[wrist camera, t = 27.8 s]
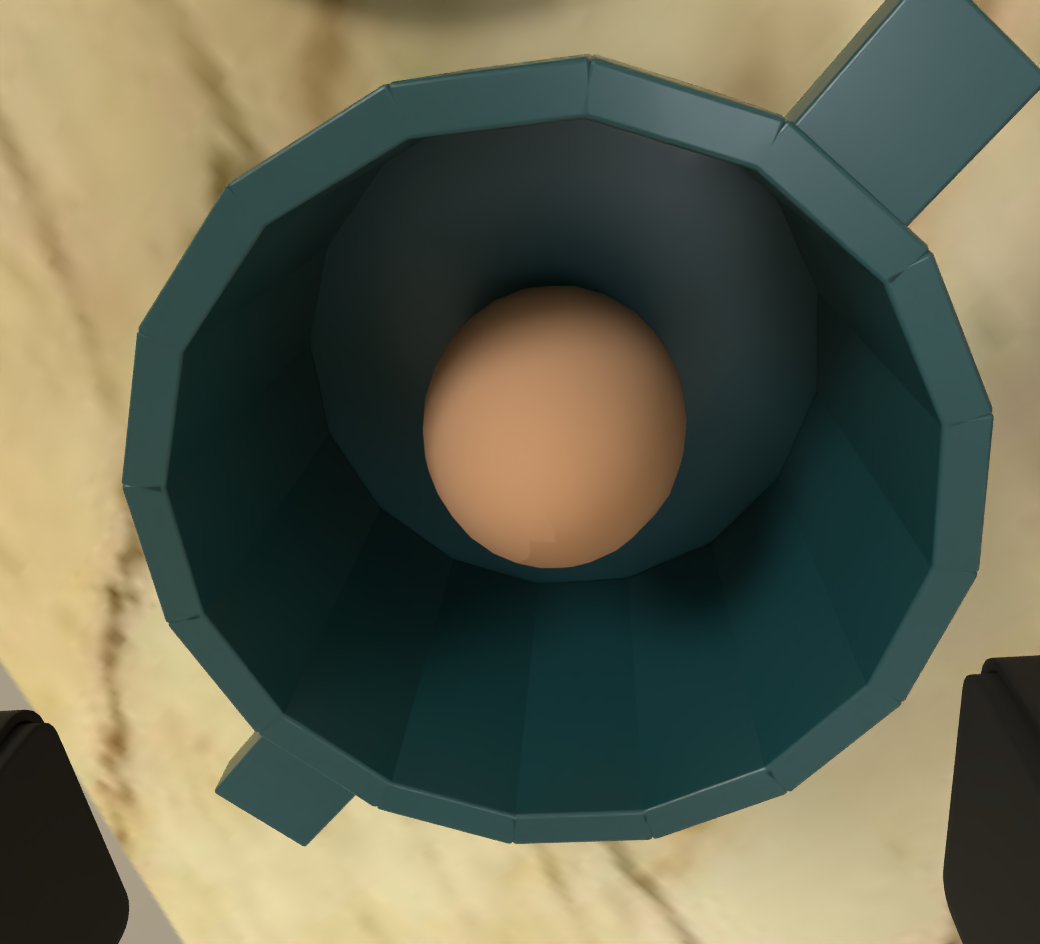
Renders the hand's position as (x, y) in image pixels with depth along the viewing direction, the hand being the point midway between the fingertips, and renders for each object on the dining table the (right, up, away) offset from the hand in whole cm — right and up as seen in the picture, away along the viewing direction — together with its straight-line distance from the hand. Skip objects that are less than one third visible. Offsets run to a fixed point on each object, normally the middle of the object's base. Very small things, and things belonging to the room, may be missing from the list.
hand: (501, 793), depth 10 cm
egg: (+1, +6, +15) cm, 16 cm away
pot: (+1, +6, +15) cm, 16 cm away
